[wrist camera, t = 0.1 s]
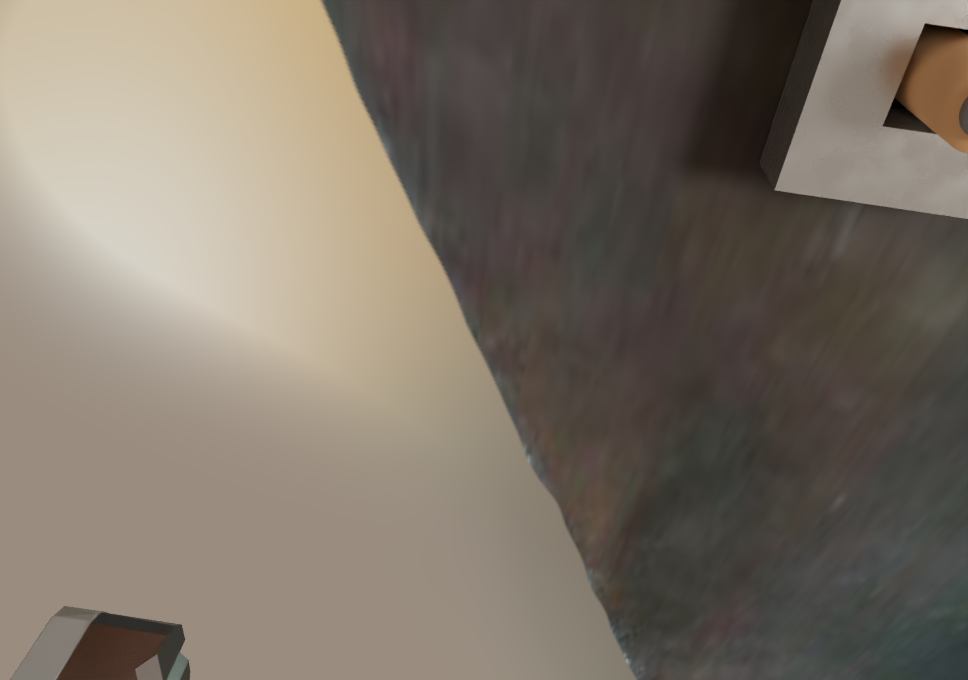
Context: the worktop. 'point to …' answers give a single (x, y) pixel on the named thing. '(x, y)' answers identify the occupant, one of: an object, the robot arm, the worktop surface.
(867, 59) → the housing
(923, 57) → the tan grey-topped cylinder
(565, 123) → the worktop surface
